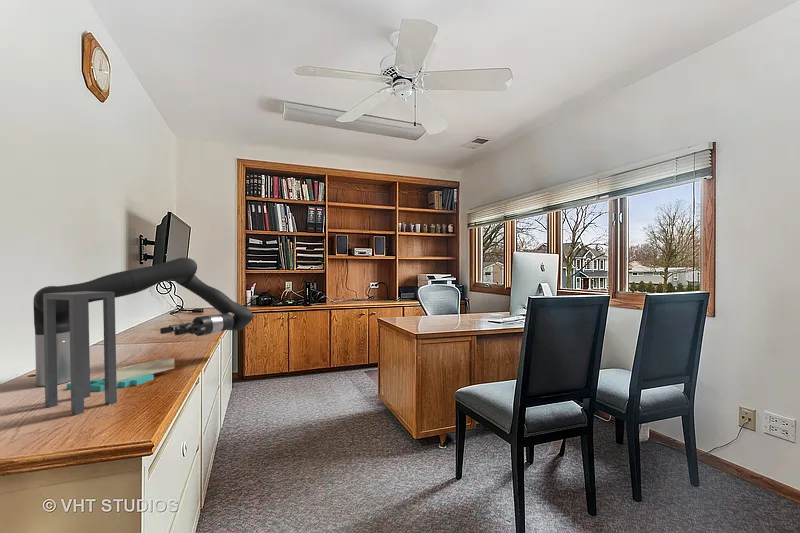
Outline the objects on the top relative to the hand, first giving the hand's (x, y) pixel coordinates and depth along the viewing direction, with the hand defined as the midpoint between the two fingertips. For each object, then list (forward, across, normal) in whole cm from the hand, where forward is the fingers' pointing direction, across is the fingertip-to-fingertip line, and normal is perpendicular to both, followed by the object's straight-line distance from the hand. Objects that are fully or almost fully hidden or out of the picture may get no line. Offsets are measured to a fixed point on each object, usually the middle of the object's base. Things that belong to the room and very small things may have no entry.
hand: (167, 331), depth 139 cm
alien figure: (+13, -7, +16) cm, 22 cm away
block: (+8, -2, +14) cm, 16 cm away
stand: (+30, +8, +15) cm, 35 cm away
